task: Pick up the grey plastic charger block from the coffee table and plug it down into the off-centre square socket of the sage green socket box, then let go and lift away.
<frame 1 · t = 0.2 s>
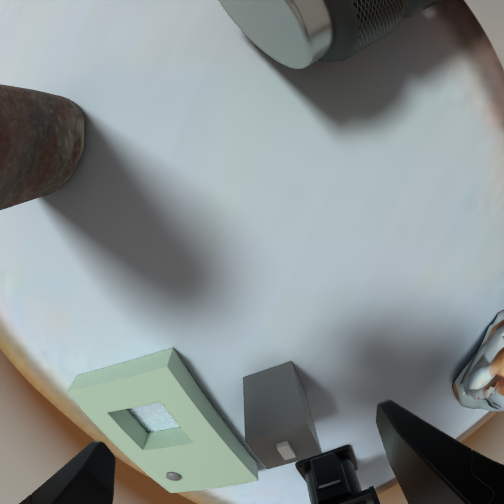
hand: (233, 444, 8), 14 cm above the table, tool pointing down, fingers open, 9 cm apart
lucky cat figurine: (486, 347, 26), on the table
socket box: (171, 429, 26), on the table
charger block: (275, 385, 24), on the table
brown cylinder: (51, 146, 18), on the table
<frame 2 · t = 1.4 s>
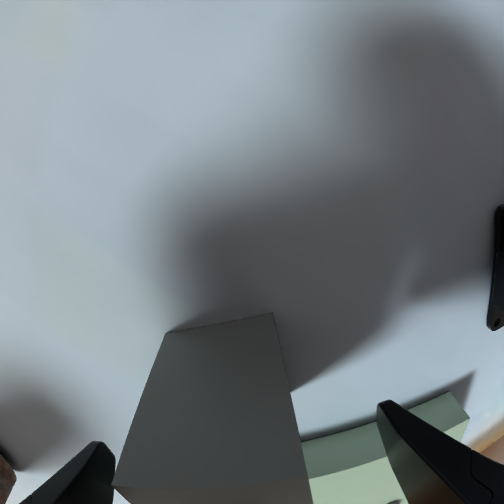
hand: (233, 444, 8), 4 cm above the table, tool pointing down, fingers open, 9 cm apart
socket box: (307, 486, 15), on the table
charger block: (231, 366, 12), on the table
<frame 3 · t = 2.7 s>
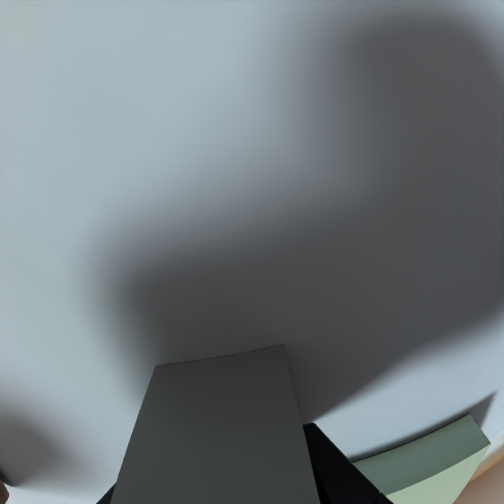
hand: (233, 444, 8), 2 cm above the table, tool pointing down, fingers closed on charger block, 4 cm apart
charger block: (233, 403, 10), on the table, touching gripper
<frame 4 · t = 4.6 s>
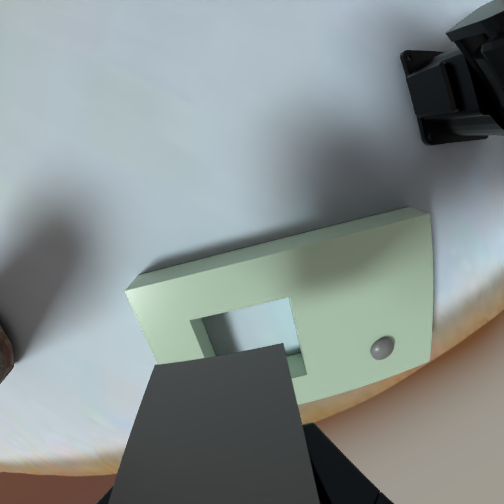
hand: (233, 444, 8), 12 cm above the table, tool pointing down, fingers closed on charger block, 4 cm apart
socket box: (295, 318, 20), on the table
charger block: (233, 402, 10), point 10 cm above the table, touching gripper
when the fingers open (3 cm above the table, at t = 6.6 s): charger block drops 2 cm, resting in socket box.
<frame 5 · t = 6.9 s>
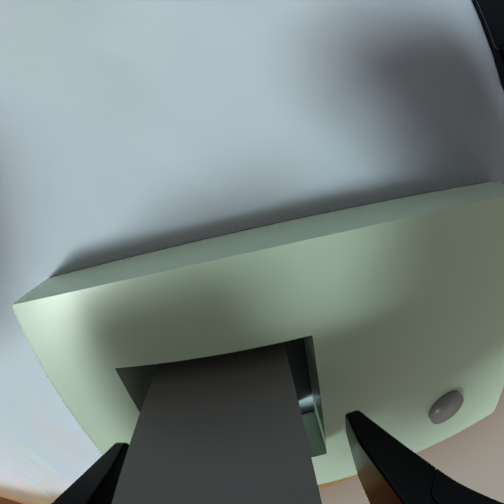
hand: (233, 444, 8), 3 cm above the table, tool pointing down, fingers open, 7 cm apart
socket box: (310, 362, 11), on the table
charger block: (234, 376, 11), resting in socket box
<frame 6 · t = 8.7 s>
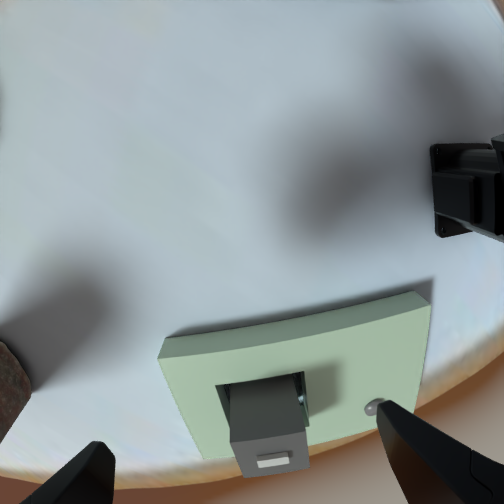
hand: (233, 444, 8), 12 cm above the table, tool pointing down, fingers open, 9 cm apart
socket box: (302, 379, 22), on the table
charger block: (264, 385, 22), resting in socket box
brown cylinder: (10, 364, 21), on the table
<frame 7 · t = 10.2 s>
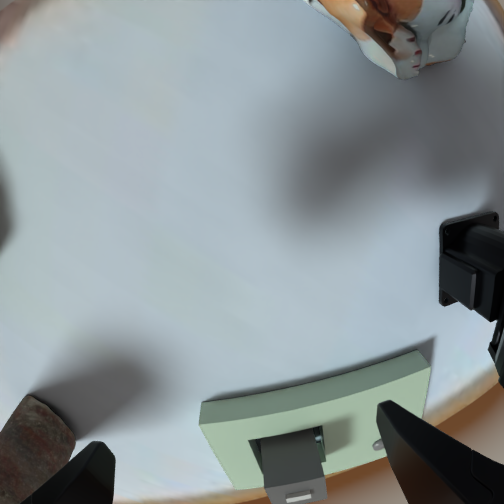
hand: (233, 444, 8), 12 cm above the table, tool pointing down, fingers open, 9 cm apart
lucky cat figurine: (367, 1, 14), on the table
socket box: (319, 424, 23), on the table
charger block: (287, 431, 23), resting in socket box
brown cylinder: (51, 419, 23), on the table
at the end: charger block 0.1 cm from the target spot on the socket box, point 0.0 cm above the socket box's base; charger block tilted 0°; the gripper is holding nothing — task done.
